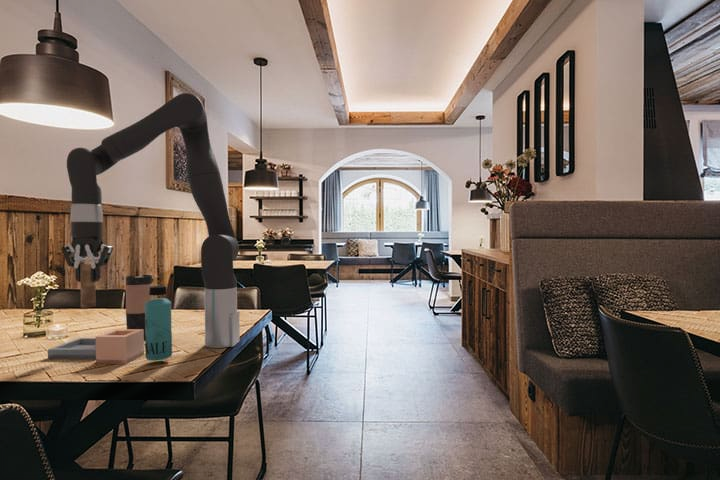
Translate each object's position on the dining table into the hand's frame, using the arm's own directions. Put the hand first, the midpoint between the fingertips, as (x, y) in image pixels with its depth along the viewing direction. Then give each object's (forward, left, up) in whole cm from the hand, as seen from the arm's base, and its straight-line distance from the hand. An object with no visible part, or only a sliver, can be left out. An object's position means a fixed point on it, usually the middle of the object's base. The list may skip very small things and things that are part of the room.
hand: (87, 281), depth 113 cm
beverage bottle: (-25, +9, -20) cm, 33 cm away
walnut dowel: (0, 0, -7) cm, 7 cm away
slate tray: (0, 0, -20) cm, 20 cm away
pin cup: (-13, +6, -20) cm, 25 cm away
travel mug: (-6, -15, -20) cm, 26 cm away
